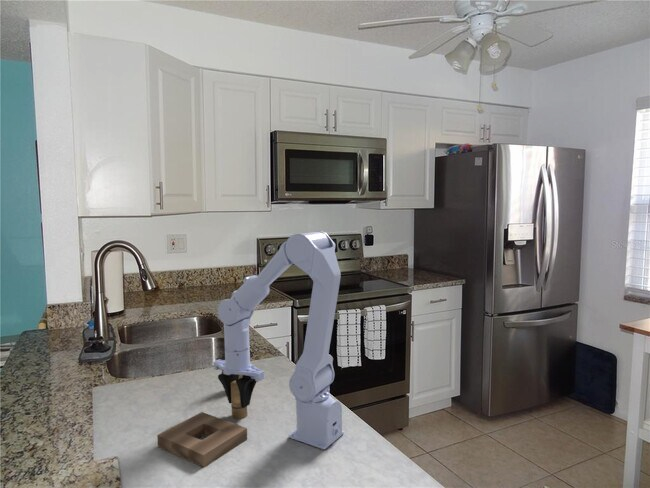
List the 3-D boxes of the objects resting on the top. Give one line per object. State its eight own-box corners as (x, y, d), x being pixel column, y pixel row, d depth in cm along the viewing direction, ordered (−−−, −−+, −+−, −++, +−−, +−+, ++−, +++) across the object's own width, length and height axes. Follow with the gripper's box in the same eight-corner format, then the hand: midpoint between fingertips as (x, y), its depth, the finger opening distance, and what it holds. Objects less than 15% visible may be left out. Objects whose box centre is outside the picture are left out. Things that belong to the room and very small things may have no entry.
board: (247, 439, 97) (246, 428, 97) (204, 467, 87) (203, 455, 87) (202, 422, 104) (201, 411, 104) (157, 446, 94) (157, 434, 94)
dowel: (250, 414, 108) (249, 382, 107) (239, 420, 105) (238, 387, 104) (239, 410, 110) (238, 378, 109) (228, 416, 107) (227, 384, 106)
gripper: (202, 347, 107) (205, 402, 108) (248, 358, 99) (250, 418, 100) (224, 339, 112) (226, 392, 114) (269, 349, 104) (271, 405, 106)
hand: (239, 403), depth 107 cm, fingers closed on dowel, 4 cm apart
